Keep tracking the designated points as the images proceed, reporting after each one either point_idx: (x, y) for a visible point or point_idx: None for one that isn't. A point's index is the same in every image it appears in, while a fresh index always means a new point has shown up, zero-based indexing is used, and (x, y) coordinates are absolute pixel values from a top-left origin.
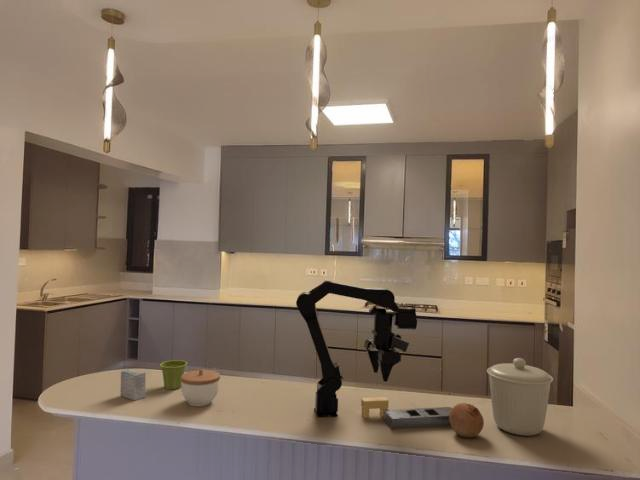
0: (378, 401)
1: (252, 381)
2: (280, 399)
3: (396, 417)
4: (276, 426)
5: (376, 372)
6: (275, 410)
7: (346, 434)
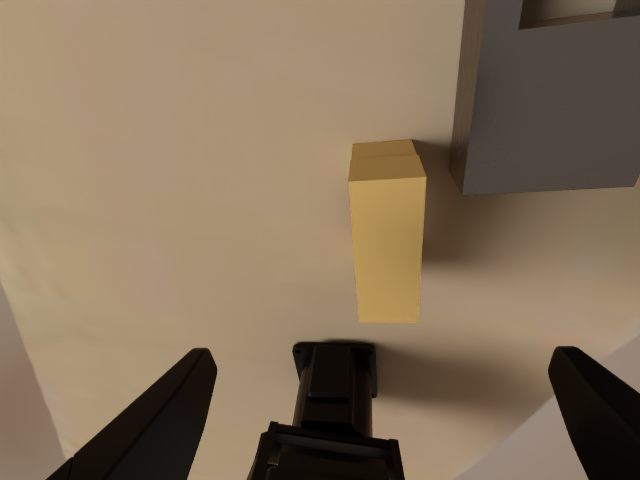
0: (421, 243)
1: None
2: (222, 439)
3: (628, 149)
4: (429, 466)
5: (210, 355)
6: None
7: None
